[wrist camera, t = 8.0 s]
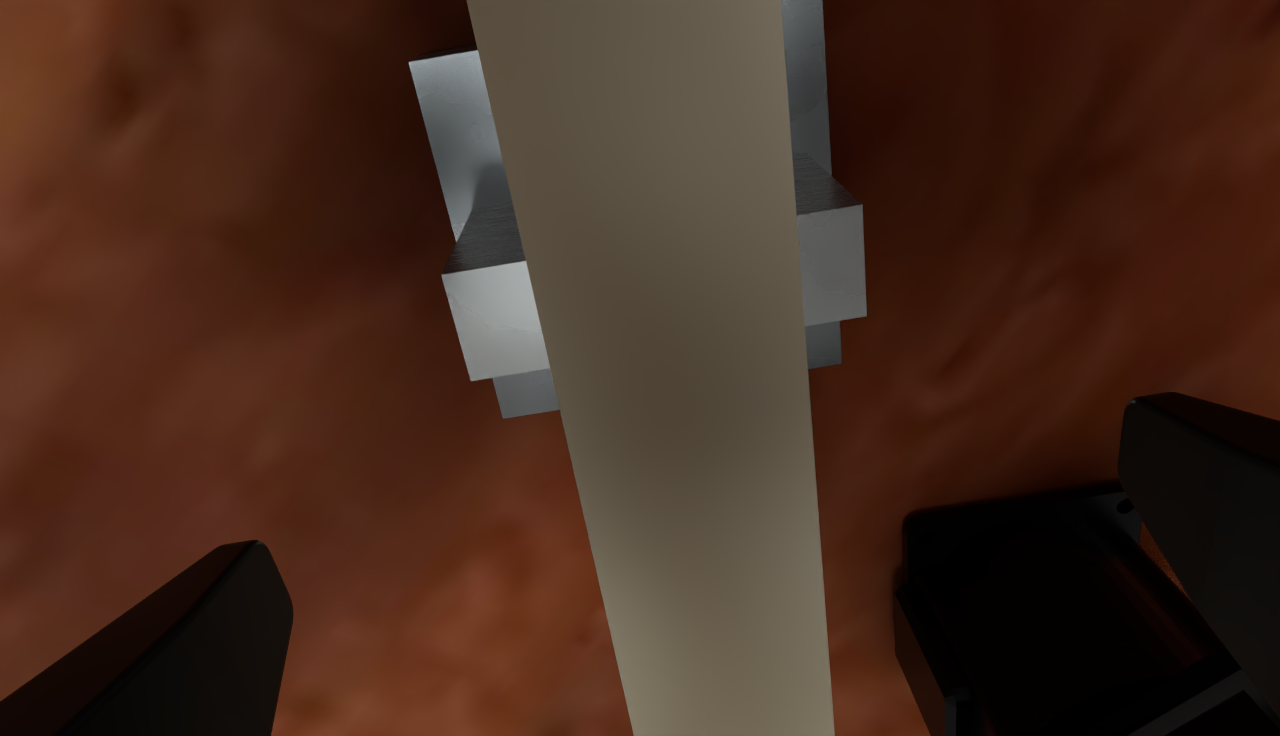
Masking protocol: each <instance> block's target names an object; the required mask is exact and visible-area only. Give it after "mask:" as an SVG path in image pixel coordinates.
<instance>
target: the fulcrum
mask: <svg viewBox="0 0 1280 736" xmlns="http://www.w3.org/2000/svg"><path fill="white" fill-rule="evenodd" d="M781 10H782V24H783V38H784V51H785V65H786V79H787V92H788V106H789V119H790V133H791V147H792V160H793V174H794V188H795V201H796V215H797V228H798V242H799V256H800V269H801V283H802V297H803V310H804V324H805V337H806V351H807V365H808V369H812V368H818V367H824V366H830V365H837V364H842V356H841V337H840V321H841V320H847V319H853V318H859V317H865V316H867V311H866V284H865V258H864V231H863V205H862V204H861V203H860V202H859V201H858V200H857V199H856V198H855V197H854V196H853V195H852V194H850V193H849V192H848V191H847V190H846V189H845V188H844V187H843V186H842V185H841V184H840V183H839V182H837V181H836V180H835V179H834V178H833V177H832V170H831V151H830V133H829V114H828V95H827V77H826V58H825V40H824V21H823V3H822V0H781ZM409 66H410V70H411V74H412V77H413V81H414V85H415V89H416V92H417V96H418V100H419V104H420V108H421V111H422V115H423V119H424V123H425V126H426V130H427V134H428V138H429V141H430V145H431V149H432V153H433V157H434V160H435V164H436V168H437V172H438V175H439V179H440V183H441V187H442V190H443V194H444V198H445V202H446V206H447V209H448V213H449V217H450V221H451V224H452V228H453V232H454V236H455V239H456V245H455V247H454V249H453V251H452V253H451V255H450V257H449V260H448V262H447V264H446V266H445V268H444V270H443V272H442V275H441V276H442V279H443V283H444V287H445V290H446V294H447V297H448V301H449V304H450V308H451V312H452V315H453V319H454V322H455V326H456V330H457V333H458V337H459V340H460V344H461V348H462V351H463V355H464V358H465V362H466V365H467V369H468V373H469V376H470V380H471V381H475V380H481V379H487V378H492V379H493V383H494V386H495V390H496V394H497V398H498V402H499V405H500V409H501V413H502V417H503V419H505V418H511V417H517V416H523V415H530V414H536V413H542V412H548V411H554V410H560V409H559V404H558V400H557V395H556V391H555V387H554V382H553V378H552V373H551V369H550V365H549V360H548V356H547V351H546V347H545V343H544V338H543V334H542V330H541V325H540V321H539V316H538V312H537V308H536V303H535V299H534V294H533V290H532V286H531V281H530V277H529V272H528V268H527V264H526V259H525V255H524V251H523V246H522V242H521V237H520V233H519V229H518V224H517V220H516V215H515V211H514V207H513V202H512V198H511V193H510V189H509V185H508V180H507V176H506V172H505V167H504V163H503V158H502V154H501V150H500V145H499V141H498V136H497V132H496V128H495V123H494V119H493V114H492V110H491V106H490V101H489V97H488V93H487V88H486V84H485V79H484V75H483V71H482V66H481V62H480V57H479V53H478V49H477V44H476V45H470V46H465V47H459V48H453V49H447V50H441V51H436V52H430V53H424V54H421V55H420V56H418V57H416V58H415V59H413V60H411V61H410V62H409Z"/></svg>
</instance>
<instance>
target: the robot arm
mask: <svg viewBox="0 0 1280 736" xmlns="http://www.w3.org/2000/svg"><path fill="white" fill-rule="evenodd" d="M1118 475H1119V479H1120V483H1114V484H1108V485H1102V486H1095V487H1089V488H1083V489H1076V490H1070V491H1064V492H1058V493H1051V494H1045V495H1039V496H1032V497H1026V498H1020V499H1013V500H1007V501H1001V502H994V503H988V504H982V505H976V506H969V507H963V508H957V509H950V510H944V511H938V512H931V513H925V514H919V515H916V516H913V517H912V518H910V519H909V520H908V521H907V522H906V523H905V525H904V527H903V531H902V534H903V584H901V585H899V586H898V587H897V589H896V590H895V592H894V622H895V653H896V657H897V659H898V661H899V663H900V666H901V668H902V670H903V673H904V675H905V677H906V680H907V682H908V684H909V686H910V689H911V691H912V693H913V696H914V698H915V700H916V703H917V705H918V707H919V710H920V712H921V714H922V716H923V719H924V721H925V723H926V726H927V728H928V730H929V733H930V735H931V736H1280V421H1278V420H1274V419H1270V418H1267V417H1263V416H1260V415H1256V414H1252V413H1249V412H1245V411H1242V410H1238V409H1234V408H1231V407H1227V406H1224V405H1220V404H1216V403H1213V402H1209V401H1206V400H1202V399H1198V398H1195V397H1191V396H1187V395H1184V394H1180V393H1176V392H1165V393H1159V394H1153V395H1147V396H1140V397H1136V398H1133V399H1132V400H1131V401H1130V402H1129V403H1128V404H1127V406H1126V408H1125V411H1124V416H1123V424H1122V432H1121V441H1120V449H1119V457H1118ZM1124 499H1126V500H1125V501H1124V502H1123V503H1121V504H1118V503H1119V502H1120V501H1122V500H1124ZM1142 521H1143V523H1144V524H1145V526H1146V527H1147V529H1148V531H1149V532H1150V534H1151V536H1152V537H1153V539H1154V541H1155V542H1156V544H1157V545H1158V547H1159V549H1160V550H1161V552H1162V554H1163V555H1164V557H1165V559H1166V560H1167V562H1168V563H1169V565H1170V567H1171V568H1172V570H1173V572H1174V573H1175V575H1176V577H1177V578H1178V580H1179V581H1180V583H1181V585H1182V586H1183V588H1184V590H1185V591H1186V593H1187V594H1188V596H1189V597H1190V599H1191V600H1192V602H1193V603H1194V604H1193V603H1192V602H1191V601H1190V600H1189V598H1188V597H1187V596H1186V595H1185V594H1184V593H1183V592H1182V591H1181V590H1180V589H1179V588H1178V587H1177V586H1176V584H1175V583H1174V582H1173V581H1172V580H1171V579H1170V578H1169V577H1168V576H1167V575H1166V574H1165V573H1164V571H1163V570H1162V569H1161V568H1160V567H1159V566H1158V565H1157V564H1156V563H1155V562H1154V561H1153V560H1152V559H1151V557H1150V556H1149V555H1148V554H1147V553H1146V552H1145V551H1144V550H1143V549H1142V548H1141V547H1140V546H1139V538H1140V530H1141V523H1142ZM924 530H929V531H928V532H927V533H926V534H925V535H922V536H917V535H918V534H919V533H920V532H922V531H924ZM292 624H293V605H292V601H291V598H290V595H289V593H288V591H287V588H286V586H285V584H284V582H283V580H282V577H281V575H280V573H279V571H278V568H277V566H276V564H275V562H274V560H273V557H272V555H271V553H270V551H269V549H268V548H267V546H266V545H265V544H264V543H262V542H260V541H258V540H250V541H243V542H237V543H231V544H225V545H222V546H219V547H217V548H215V549H214V550H212V551H211V552H210V553H208V554H207V555H205V556H204V557H203V558H201V559H200V560H198V561H197V562H196V563H194V564H193V565H191V566H190V567H189V568H187V569H186V570H184V571H183V572H182V573H180V574H179V575H177V576H176V577H174V578H173V579H172V580H170V581H169V582H167V583H166V584H165V585H163V586H162V587H160V588H159V589H158V590H156V591H155V592H153V593H152V594H151V595H149V596H148V597H146V598H145V599H144V600H142V601H141V602H139V603H138V604H137V605H135V606H134V607H132V608H131V609H130V610H128V611H127V612H125V613H124V614H123V615H121V616H120V617H118V618H117V619H115V620H114V621H113V622H111V623H110V624H108V625H107V626H106V627H104V628H103V629H101V630H100V631H99V632H97V633H96V634H94V635H93V636H92V637H90V638H89V639H87V640H86V641H85V642H83V643H82V644H80V645H79V646H78V647H76V648H75V649H73V650H72V651H71V652H69V653H68V654H66V655H65V656H64V657H62V658H61V659H59V660H58V661H56V662H55V663H54V664H52V665H51V666H49V667H48V668H47V669H45V670H44V671H42V672H41V673H40V674H38V675H37V676H35V677H34V678H33V679H31V680H30V681H28V682H27V683H26V684H24V685H23V686H21V687H20V688H19V689H17V690H16V691H14V692H13V693H12V694H10V695H9V696H7V697H6V698H5V699H3V700H2V701H0V736H271V733H272V727H273V722H274V717H275V712H276V707H277V702H278V696H279V691H280V686H281V681H282V676H283V671H284V666H285V660H286V655H287V650H288V645H289V640H290V635H291V629H292Z"/></svg>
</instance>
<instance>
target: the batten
mask: <svg viewBox="0 0 1280 736" xmlns="http://www.w3.org/2000/svg"><path fill="white" fill-rule="evenodd" d="M467 5H468V9H469V14H470V18H471V22H472V27H473V31H474V35H475V40H476V44H477V49H478V53H479V57H480V62H481V66H482V71H483V75H484V79H485V84H486V88H487V93H488V97H489V101H490V106H491V110H492V114H493V119H494V123H495V128H496V132H497V136H498V141H499V145H500V150H501V154H502V158H503V163H504V167H505V172H506V176H507V180H508V185H509V189H510V193H511V198H512V202H513V207H514V211H515V215H516V220H517V224H518V229H519V233H520V237H521V242H522V246H523V251H524V255H525V259H526V264H527V268H528V272H529V277H530V281H531V286H532V290H533V294H534V299H535V303H536V308H537V312H538V316H539V321H540V325H541V330H542V334H543V338H544V343H545V347H546V351H547V356H548V360H549V365H550V369H551V373H552V378H553V382H554V387H555V391H556V395H557V400H558V404H559V409H560V413H561V417H562V422H563V426H564V430H565V435H566V439H567V444H568V448H569V452H570V457H571V461H572V466H573V470H574V474H575V479H576V483H577V488H578V492H579V496H580V501H581V505H582V509H583V514H584V518H585V523H586V527H587V531H588V536H589V540H590V545H591V549H592V553H593V558H594V562H595V567H596V571H597V575H598V580H599V584H600V588H601V593H602V597H603V602H604V606H605V610H606V615H607V619H608V624H609V628H610V632H611V637H612V641H613V646H614V650H615V654H616V659H617V663H618V667H619V672H620V676H621V681H622V685H623V689H624V694H625V698H626V703H627V707H628V711H629V716H630V720H631V725H632V729H633V733H634V736H835V733H834V719H833V705H832V692H831V678H830V665H829V651H828V637H827V624H826V610H825V596H824V583H823V569H822V556H821V542H820V528H819V515H818V501H817V487H816V474H815V460H814V447H813V433H812V419H811V406H810V392H809V378H808V365H807V351H806V337H805V324H804V310H803V297H802V283H801V269H800V256H799V242H798V228H797V215H796V201H795V188H794V174H793V160H792V147H791V133H790V119H789V106H788V92H787V79H786V65H785V51H784V38H783V24H782V10H781V0H467Z"/></svg>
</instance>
